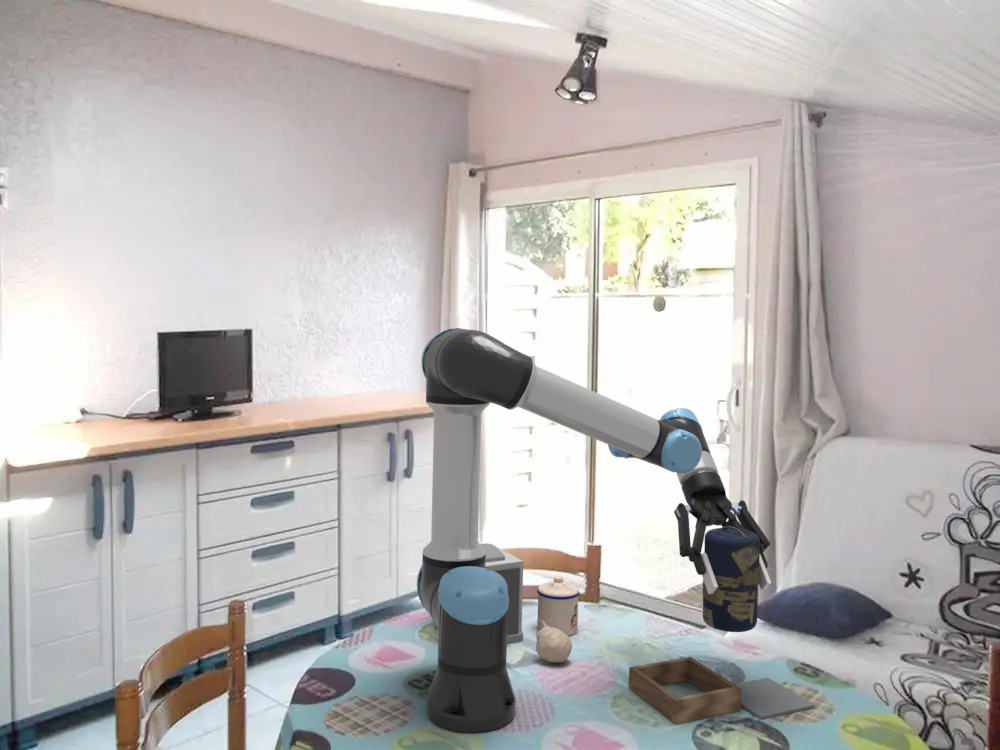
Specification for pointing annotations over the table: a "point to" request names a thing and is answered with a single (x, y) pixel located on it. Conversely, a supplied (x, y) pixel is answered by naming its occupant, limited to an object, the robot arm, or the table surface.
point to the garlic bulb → (553, 644)
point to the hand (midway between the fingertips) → (740, 588)
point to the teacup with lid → (558, 605)
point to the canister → (732, 579)
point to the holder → (711, 703)
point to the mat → (770, 699)
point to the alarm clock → (513, 576)
